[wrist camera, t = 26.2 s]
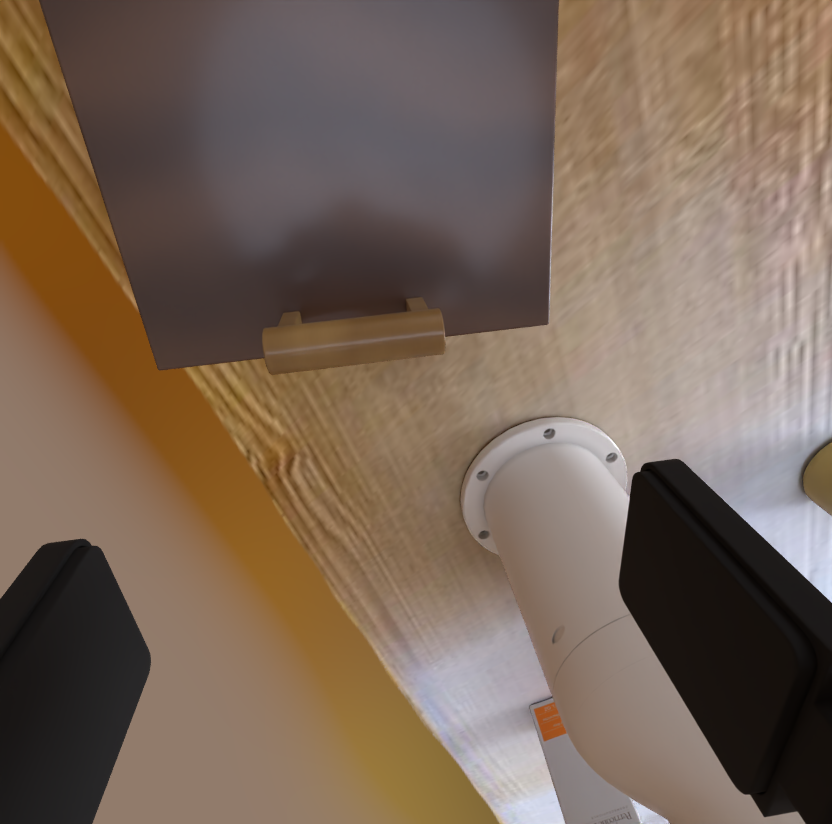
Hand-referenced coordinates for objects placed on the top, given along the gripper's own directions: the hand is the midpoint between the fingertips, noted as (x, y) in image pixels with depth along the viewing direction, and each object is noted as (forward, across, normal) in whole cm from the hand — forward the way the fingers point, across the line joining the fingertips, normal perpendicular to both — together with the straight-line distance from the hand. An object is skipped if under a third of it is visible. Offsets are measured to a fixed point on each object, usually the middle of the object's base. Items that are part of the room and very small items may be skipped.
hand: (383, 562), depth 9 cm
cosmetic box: (+25, -15, +46) cm, 54 cm away
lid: (+15, 0, -7) cm, 16 cm away
